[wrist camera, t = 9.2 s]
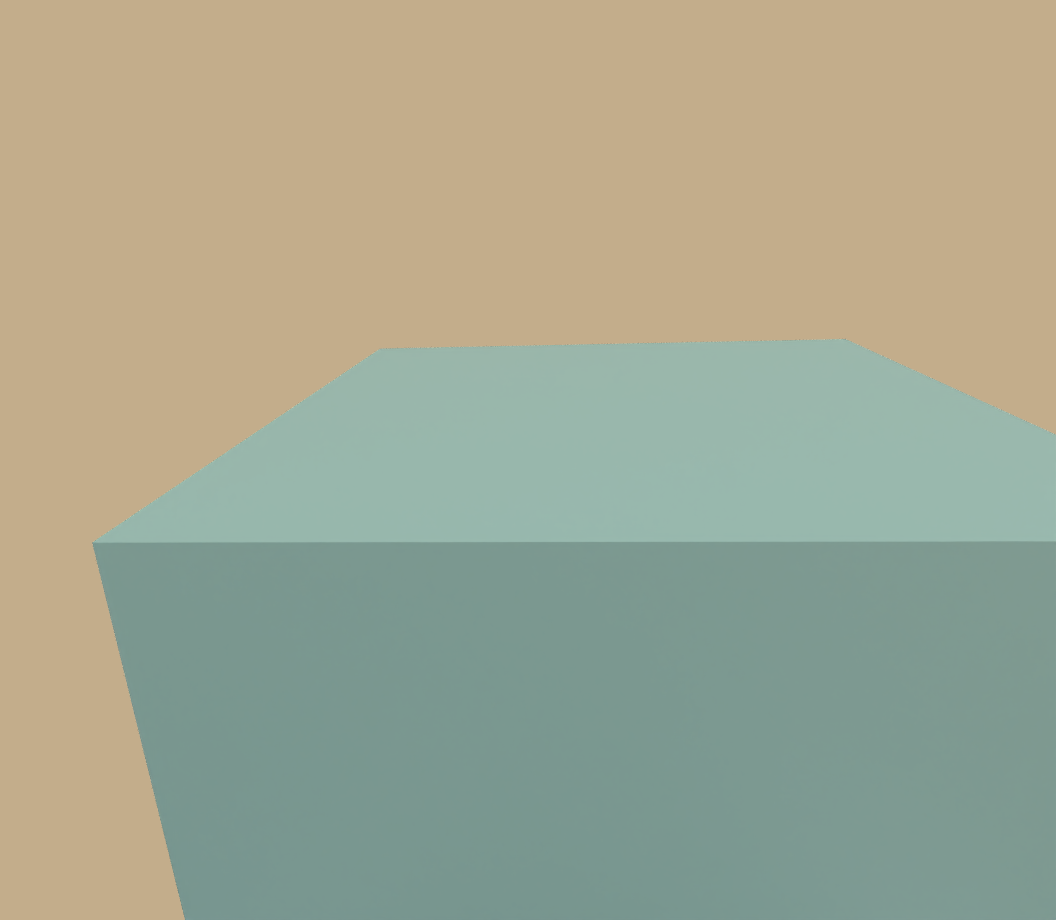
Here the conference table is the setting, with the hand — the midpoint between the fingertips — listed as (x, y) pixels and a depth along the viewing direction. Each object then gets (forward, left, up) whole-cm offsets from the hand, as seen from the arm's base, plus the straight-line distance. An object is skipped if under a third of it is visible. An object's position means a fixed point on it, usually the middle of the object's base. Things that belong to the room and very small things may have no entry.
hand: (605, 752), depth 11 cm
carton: (+1, -2, -8) cm, 8 cm away
